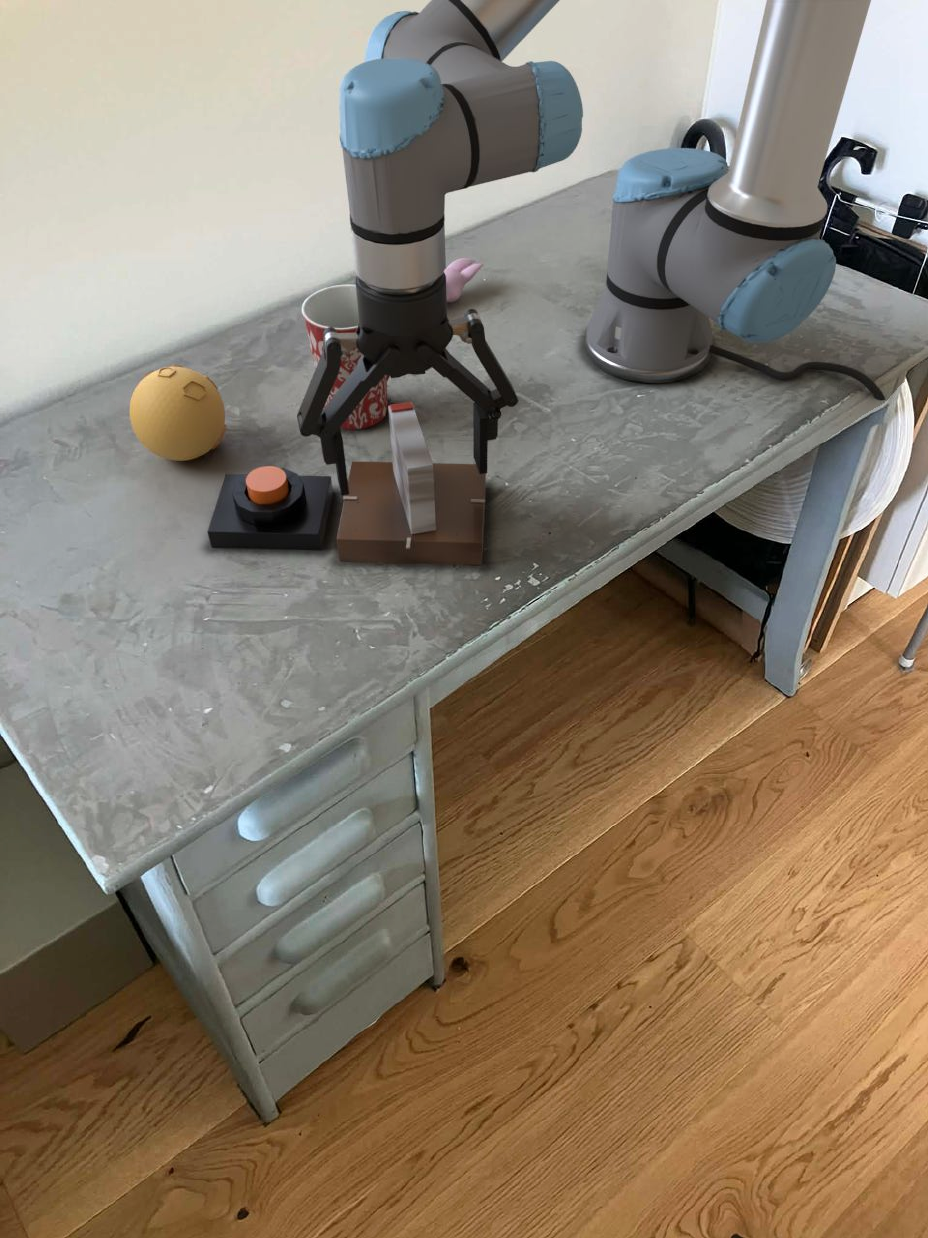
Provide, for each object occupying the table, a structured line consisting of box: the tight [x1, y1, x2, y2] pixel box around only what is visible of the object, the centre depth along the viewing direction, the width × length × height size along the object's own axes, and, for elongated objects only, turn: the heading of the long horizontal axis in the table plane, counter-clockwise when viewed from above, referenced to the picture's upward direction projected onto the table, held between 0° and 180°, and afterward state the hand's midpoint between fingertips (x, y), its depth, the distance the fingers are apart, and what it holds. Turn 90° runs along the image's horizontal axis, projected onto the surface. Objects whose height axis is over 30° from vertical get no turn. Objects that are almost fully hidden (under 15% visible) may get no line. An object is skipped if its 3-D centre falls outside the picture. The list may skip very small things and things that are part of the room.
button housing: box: [207, 467, 334, 551], centre depth 103 cm, size 11×9×4 cm
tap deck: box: [336, 461, 487, 566], centre depth 103 cm, size 14×14×3 cm
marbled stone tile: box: [387, 401, 436, 534], centre depth 99 cm, size 10×2×8 cm, turn 13°
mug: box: [300, 284, 391, 431], centre depth 113 cm, size 13×9×14 cm
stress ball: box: [129, 365, 227, 462], centre depth 109 cm, size 10×10×10 cm
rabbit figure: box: [444, 257, 485, 304], centre depth 131 cm, size 6×6×15 cm
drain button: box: [246, 465, 289, 504], centre depth 101 cm, size 4×4×2 cm
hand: (412, 475), depth 99 cm, fingers open, 13 cm apart
